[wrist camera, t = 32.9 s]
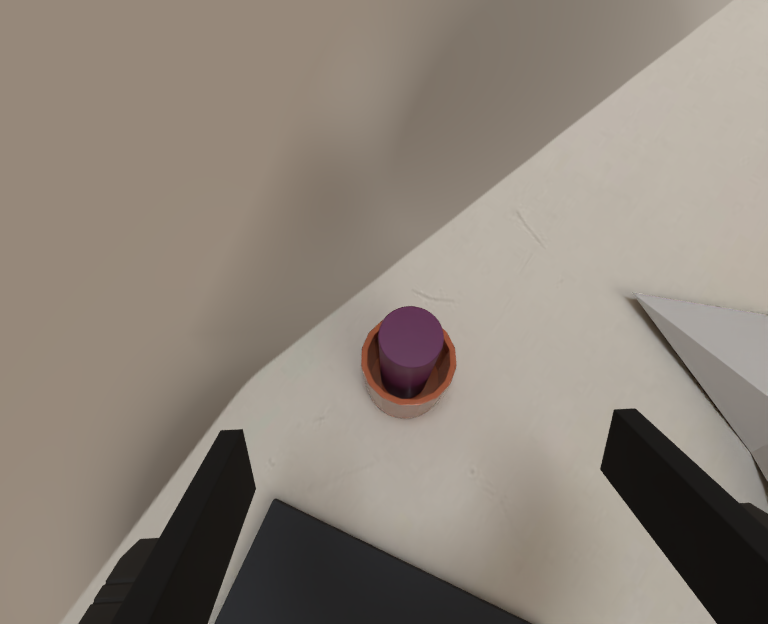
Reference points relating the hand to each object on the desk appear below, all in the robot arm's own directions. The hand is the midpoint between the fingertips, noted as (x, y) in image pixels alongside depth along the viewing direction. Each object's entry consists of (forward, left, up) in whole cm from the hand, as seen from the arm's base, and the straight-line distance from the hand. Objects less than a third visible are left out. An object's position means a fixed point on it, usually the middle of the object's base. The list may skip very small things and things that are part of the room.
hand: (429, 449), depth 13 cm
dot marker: (-2, +5, -15) cm, 16 cm away
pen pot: (-2, +6, -16) cm, 17 cm away
